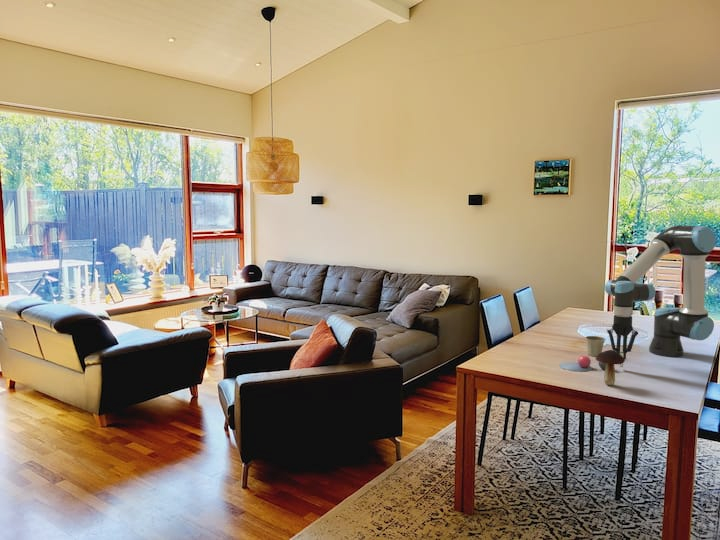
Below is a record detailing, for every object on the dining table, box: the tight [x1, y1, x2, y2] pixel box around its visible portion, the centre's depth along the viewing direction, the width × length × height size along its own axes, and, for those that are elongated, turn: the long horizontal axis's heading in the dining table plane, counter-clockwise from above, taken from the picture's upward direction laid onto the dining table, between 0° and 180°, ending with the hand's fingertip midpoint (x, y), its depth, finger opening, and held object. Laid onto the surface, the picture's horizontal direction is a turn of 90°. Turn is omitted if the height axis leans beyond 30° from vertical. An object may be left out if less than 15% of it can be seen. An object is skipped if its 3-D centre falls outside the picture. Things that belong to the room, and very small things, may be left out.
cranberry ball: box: [577, 355, 592, 368], centre depth 245 cm, size 6×6×6 cm
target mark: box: [559, 361, 593, 373], centre depth 246 cm, size 14×14×1 cm
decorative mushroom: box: [595, 349, 626, 386], centre depth 220 cm, size 11×11×15 cm
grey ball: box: [598, 361, 606, 371], centre depth 242 cm, size 6×6×6 cm
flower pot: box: [584, 335, 606, 357], centre depth 265 cm, size 9×9×9 cm
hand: (620, 366), depth 240 cm, fingers closed
